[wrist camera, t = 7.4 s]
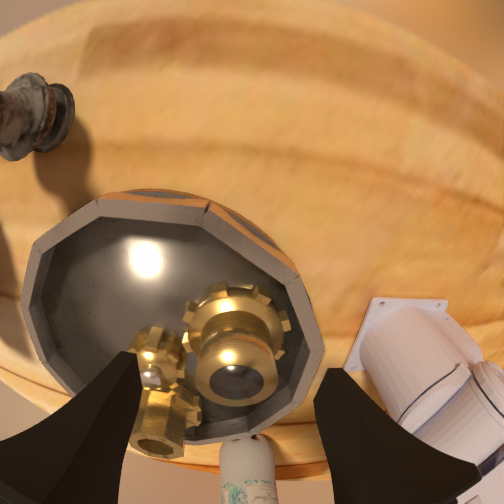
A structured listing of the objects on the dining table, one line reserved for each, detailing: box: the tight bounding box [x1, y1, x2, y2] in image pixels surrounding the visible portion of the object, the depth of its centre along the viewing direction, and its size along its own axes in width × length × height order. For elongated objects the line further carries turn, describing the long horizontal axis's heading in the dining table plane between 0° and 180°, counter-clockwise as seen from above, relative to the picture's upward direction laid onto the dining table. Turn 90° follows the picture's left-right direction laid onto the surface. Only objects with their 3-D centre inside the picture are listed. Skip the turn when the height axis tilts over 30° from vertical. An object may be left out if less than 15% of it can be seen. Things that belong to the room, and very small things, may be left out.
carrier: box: [20, 189, 325, 445], centre depth 17 cm, size 24×24×7 cm
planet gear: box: [129, 383, 203, 460], centre depth 19 cm, size 7×7×5 cm
